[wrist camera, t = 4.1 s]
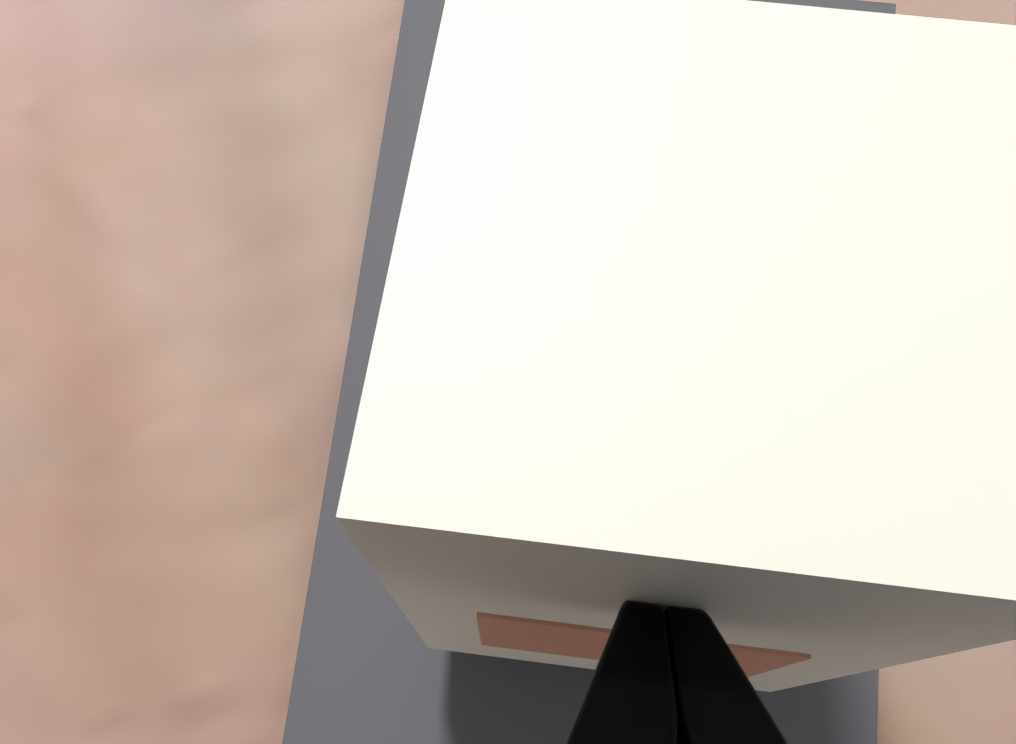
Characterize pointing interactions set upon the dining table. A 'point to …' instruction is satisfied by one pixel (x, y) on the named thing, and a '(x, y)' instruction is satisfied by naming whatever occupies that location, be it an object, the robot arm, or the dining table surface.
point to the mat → (374, 613)
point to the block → (700, 335)
